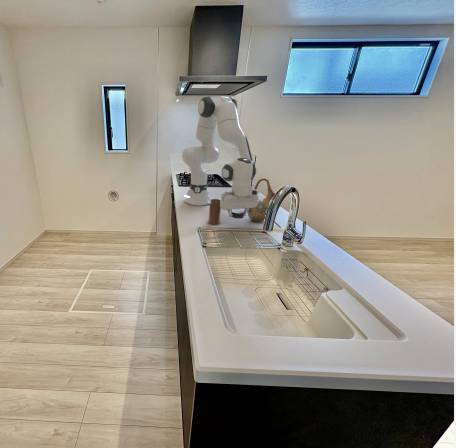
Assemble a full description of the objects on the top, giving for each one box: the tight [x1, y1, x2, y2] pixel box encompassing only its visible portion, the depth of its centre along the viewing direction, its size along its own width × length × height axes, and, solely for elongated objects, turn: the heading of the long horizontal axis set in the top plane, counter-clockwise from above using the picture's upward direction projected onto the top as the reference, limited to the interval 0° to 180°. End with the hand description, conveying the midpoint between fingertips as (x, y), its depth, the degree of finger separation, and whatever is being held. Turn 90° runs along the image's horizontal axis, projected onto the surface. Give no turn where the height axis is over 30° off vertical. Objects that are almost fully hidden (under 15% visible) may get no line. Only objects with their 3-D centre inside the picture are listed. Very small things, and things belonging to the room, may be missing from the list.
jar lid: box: [231, 209, 245, 220], centre depth 127 cm, size 7×6×3 cm
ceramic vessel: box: [246, 177, 276, 223], centre depth 135 cm, size 16×9×25 cm, turn 87°
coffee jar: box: [207, 198, 222, 226], centre depth 135 cm, size 6×6×13 cm
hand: (237, 216), depth 128 cm, fingers closed on jar lid, 6 cm apart
